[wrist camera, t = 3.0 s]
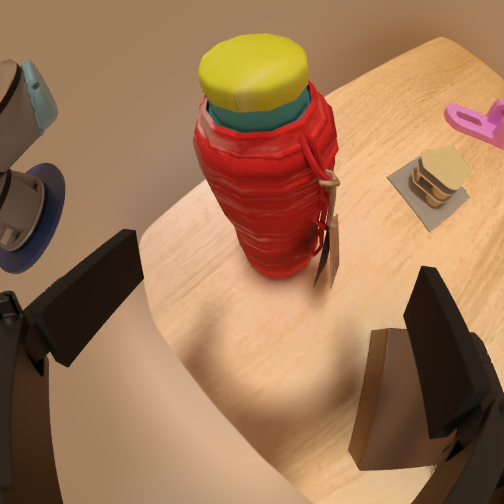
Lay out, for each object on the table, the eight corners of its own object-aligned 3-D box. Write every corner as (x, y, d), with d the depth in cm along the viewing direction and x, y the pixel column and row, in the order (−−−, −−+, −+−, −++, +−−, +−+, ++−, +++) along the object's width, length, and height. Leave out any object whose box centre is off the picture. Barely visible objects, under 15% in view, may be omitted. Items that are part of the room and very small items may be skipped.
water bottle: (353, 269, 31) (469, 105, 7) (303, 321, 30) (348, 255, 6) (278, 200, 34) (249, -2, 11) (228, 245, 34) (117, 71, 10)
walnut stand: (348, 449, 25) (359, 470, 19) (371, 330, 29) (389, 327, 23) (425, 447, 23) (446, 463, 17) (446, 335, 27) (474, 332, 21)
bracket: (497, 127, 34) (512, 104, 27) (504, 149, 32) (522, 127, 26) (441, 104, 36) (454, 77, 30) (447, 127, 35) (462, 99, 28)
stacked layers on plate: (430, 149, 34) (444, 126, 29) (469, 197, 31) (488, 178, 26) (386, 177, 34) (398, 153, 28) (429, 232, 31) (449, 214, 25)
